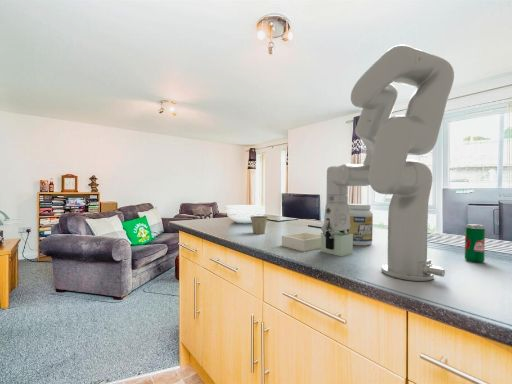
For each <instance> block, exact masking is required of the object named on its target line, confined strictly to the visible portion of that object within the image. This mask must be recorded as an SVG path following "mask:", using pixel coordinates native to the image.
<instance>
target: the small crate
mask: <svg viewBox="0 0 512 384" xmlns="http://www.w3.org/2000/svg"><path fill="white" fill-rule="evenodd" d="M329 233H330V234H331V232H329ZM320 235H321V248H320V252H322V253H326V254H331V255H335V256H339V257H343V256H347V255H352V254H354V251H353V249H354V247H353V246H354V245H353V234H348V233H341V232H339V231H337V232H336V231H335V232H334V235H333V239H334V249H333V250H331V249H327V248H326V238H325V235H324V234H323V232H320Z"/></svg>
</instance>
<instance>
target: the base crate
mask: <svg viewBox="0 0 512 384" xmlns="http://www.w3.org/2000/svg"><path fill="white" fill-rule="evenodd" d="M281 246H282V247H284V248H289V249H293V250H297V251H300V252H309V251H314V250H318V249H321V234H316V233H310V232H308V231H307V232H305V231H304V232H299V233H298V232H297V233H292V234H283V235H281Z"/></svg>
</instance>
